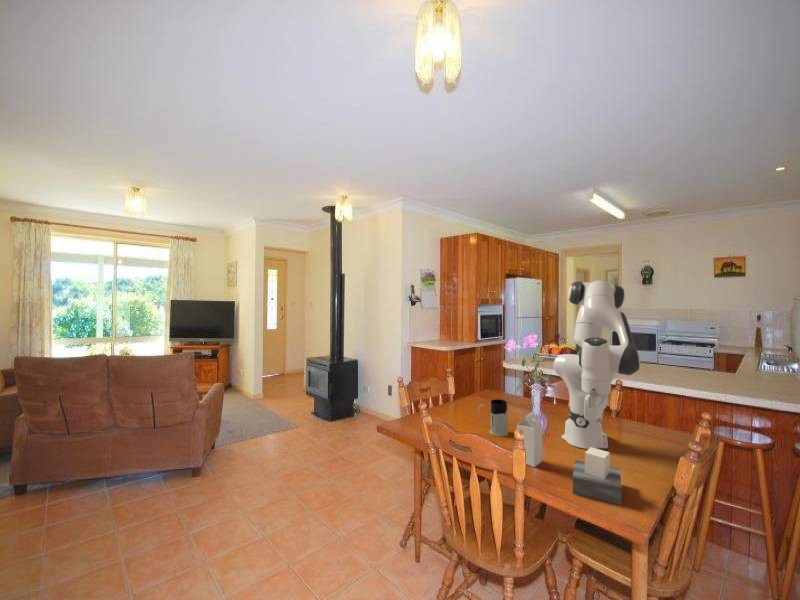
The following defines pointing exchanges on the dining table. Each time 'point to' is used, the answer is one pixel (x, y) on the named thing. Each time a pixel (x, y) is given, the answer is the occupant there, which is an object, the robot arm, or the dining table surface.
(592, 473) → the ivory block
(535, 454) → the milk carton
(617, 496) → the slate box
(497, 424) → the grey mug
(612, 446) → the dining table surface
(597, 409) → the robot arm
